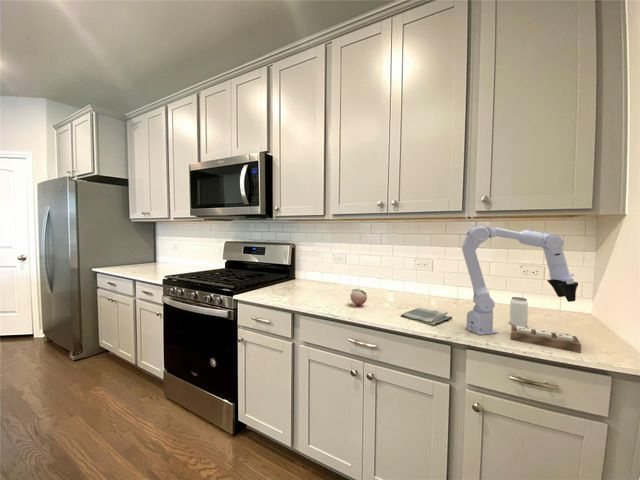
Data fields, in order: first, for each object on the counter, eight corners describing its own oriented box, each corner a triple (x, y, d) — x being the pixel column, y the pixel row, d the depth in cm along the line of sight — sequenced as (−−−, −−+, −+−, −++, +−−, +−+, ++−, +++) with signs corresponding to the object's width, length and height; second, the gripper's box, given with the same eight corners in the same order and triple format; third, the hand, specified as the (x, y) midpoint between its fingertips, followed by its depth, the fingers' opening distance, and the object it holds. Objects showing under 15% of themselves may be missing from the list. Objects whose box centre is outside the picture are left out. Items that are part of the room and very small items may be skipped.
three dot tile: (516, 336, 109) (516, 328, 109) (516, 332, 113) (516, 325, 113) (531, 339, 107) (531, 331, 106) (530, 335, 110) (530, 327, 110)
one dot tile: (535, 339, 106) (536, 331, 106) (535, 336, 110) (535, 328, 109) (551, 342, 103) (551, 334, 103) (550, 338, 107) (550, 330, 107)
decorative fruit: (347, 306, 153) (347, 288, 153) (352, 303, 160) (353, 286, 160) (364, 309, 149) (364, 290, 148) (368, 305, 156) (369, 287, 156)
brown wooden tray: (511, 339, 108) (511, 332, 108) (511, 332, 116) (511, 325, 116) (580, 352, 97) (581, 344, 97) (575, 344, 104) (576, 336, 104)
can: (510, 321, 130) (511, 296, 130) (527, 324, 126) (528, 298, 126) (508, 325, 125) (509, 298, 125) (526, 328, 121) (527, 301, 121)
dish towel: (399, 317, 136) (399, 311, 136) (418, 311, 148) (419, 305, 148) (435, 328, 122) (435, 321, 122) (454, 320, 133) (454, 313, 133)
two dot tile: (556, 343, 102) (556, 335, 102) (554, 339, 106) (555, 331, 106) (573, 346, 100) (573, 338, 100) (570, 342, 104) (571, 334, 103)
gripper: (579, 264, 100) (590, 301, 100) (560, 260, 114) (569, 293, 113) (556, 268, 103) (566, 304, 102) (540, 264, 116) (548, 296, 116)
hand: (566, 298), depth 108 cm, fingers open, 7 cm apart
